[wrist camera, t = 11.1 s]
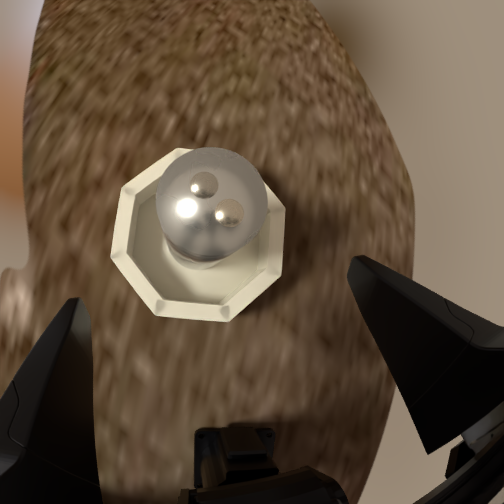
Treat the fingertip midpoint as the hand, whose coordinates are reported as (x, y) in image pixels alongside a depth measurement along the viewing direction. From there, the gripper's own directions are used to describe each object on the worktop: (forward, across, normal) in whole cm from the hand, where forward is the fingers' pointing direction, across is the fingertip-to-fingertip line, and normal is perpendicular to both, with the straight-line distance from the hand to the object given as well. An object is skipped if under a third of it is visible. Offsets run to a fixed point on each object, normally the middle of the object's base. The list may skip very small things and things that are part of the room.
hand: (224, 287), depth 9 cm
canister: (+11, 0, +6) cm, 12 cm away
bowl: (+12, 0, +6) cm, 13 cm away
